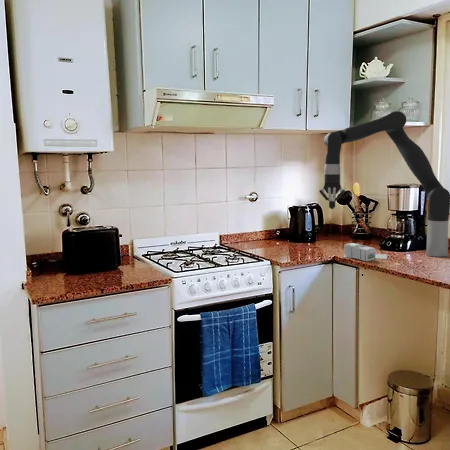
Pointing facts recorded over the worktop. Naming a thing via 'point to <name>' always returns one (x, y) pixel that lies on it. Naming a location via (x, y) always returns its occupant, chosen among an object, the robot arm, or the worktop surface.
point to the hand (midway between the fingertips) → (332, 208)
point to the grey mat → (377, 256)
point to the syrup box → (359, 251)
